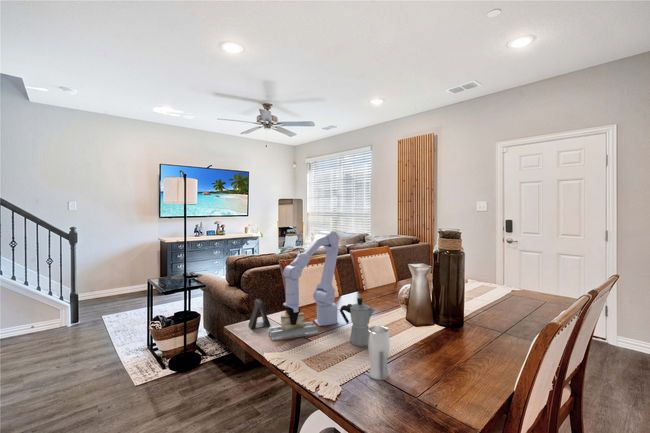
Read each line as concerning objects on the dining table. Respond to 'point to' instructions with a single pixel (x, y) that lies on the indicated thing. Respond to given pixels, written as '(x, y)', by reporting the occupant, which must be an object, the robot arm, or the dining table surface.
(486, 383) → the dining table surface
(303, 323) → the door panel
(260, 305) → the phone stand
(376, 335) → the beer glass
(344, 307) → the coffee maker
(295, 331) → the track
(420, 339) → the dining table surface
